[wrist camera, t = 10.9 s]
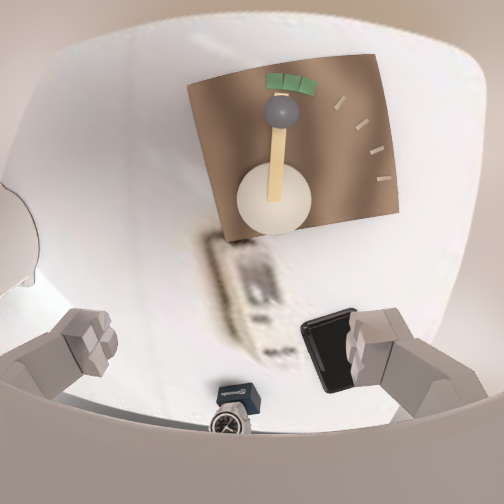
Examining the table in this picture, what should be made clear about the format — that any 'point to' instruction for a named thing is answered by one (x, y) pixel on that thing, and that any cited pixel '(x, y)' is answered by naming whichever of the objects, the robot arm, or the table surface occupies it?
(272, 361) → the table surface
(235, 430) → the watch
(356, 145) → the gauge panel
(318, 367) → the phone
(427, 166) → the table surface
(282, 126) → the dial knob with pointer
